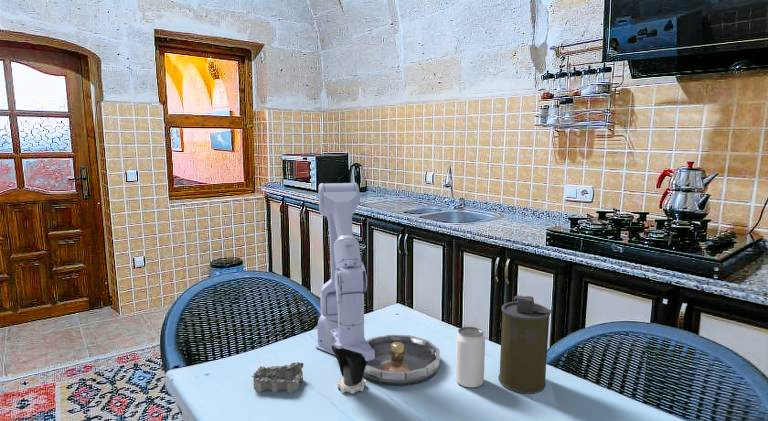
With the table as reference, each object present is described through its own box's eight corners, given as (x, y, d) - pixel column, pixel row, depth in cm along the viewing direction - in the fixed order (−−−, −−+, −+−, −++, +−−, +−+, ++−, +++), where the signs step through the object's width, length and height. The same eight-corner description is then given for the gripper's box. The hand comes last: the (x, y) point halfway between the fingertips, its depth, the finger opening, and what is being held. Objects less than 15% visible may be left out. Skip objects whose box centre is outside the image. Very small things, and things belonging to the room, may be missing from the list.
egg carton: (306, 378, 107) (305, 361, 107) (296, 395, 100) (296, 378, 99) (262, 375, 109) (261, 358, 108) (249, 392, 101) (248, 374, 101)
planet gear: (331, 387, 102) (331, 368, 101) (350, 375, 107) (350, 357, 106) (353, 396, 98) (353, 377, 98) (371, 384, 103) (371, 365, 103)
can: (483, 390, 102) (485, 338, 100) (454, 387, 103) (455, 336, 101) (483, 375, 108) (485, 327, 106) (455, 372, 109) (456, 324, 107)
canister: (495, 388, 102) (498, 302, 99) (501, 367, 112) (504, 288, 109) (547, 398, 98) (552, 309, 95) (548, 375, 108) (553, 293, 105)
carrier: (338, 368, 111) (337, 348, 111) (388, 338, 128) (388, 321, 127) (409, 395, 99) (409, 374, 99) (454, 359, 116) (454, 340, 115)
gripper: (318, 315, 104) (319, 371, 106) (355, 336, 92) (355, 399, 94) (344, 308, 108) (344, 362, 110) (382, 327, 97) (382, 387, 99)
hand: (351, 378), depth 103 cm, fingers closed on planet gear, 4 cm apart
